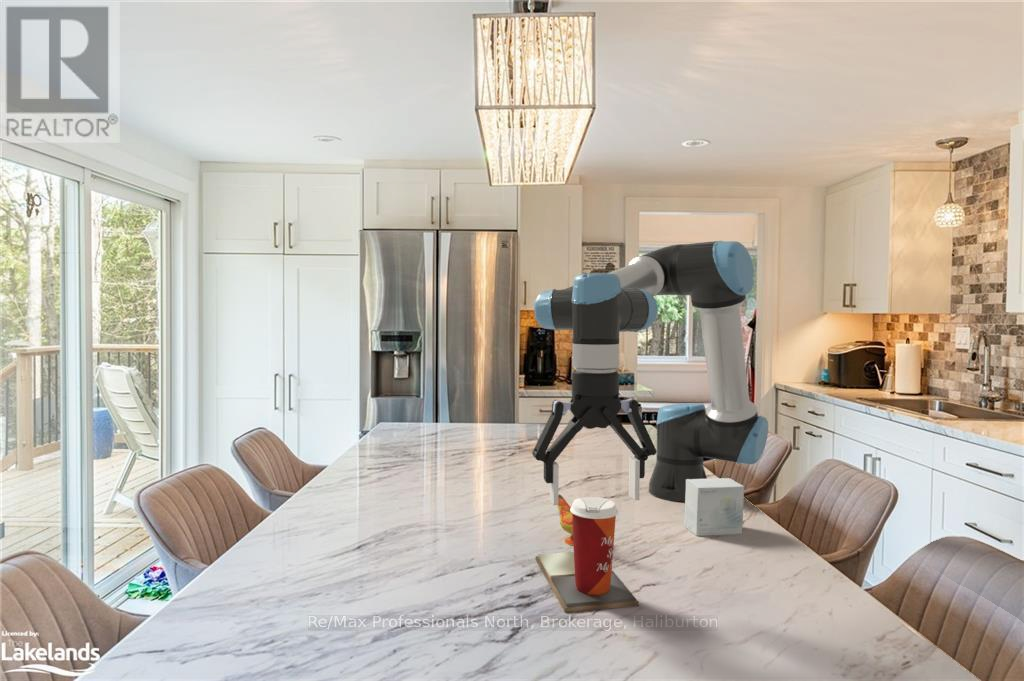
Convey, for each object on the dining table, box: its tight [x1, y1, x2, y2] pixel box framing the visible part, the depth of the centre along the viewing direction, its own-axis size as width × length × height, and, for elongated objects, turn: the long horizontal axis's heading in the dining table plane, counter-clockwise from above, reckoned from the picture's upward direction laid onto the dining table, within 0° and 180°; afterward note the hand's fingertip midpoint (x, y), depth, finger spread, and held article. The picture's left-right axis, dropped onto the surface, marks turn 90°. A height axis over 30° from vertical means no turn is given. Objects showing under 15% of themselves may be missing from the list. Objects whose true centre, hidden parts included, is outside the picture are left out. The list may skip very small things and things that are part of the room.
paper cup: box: [570, 496, 619, 595], centre depth 97 cm, size 8×8×14 cm
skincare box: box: [683, 477, 745, 537], centre depth 127 cm, size 10×6×10 cm, turn 99°
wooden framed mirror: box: [535, 551, 640, 613], centre depth 102 cm, size 12×20×1 cm, turn 11°
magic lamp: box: [556, 493, 574, 547], centre depth 121 cm, size 7×18×11 cm, turn 20°
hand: (594, 500), depth 97 cm, fingers open, 13 cm apart
